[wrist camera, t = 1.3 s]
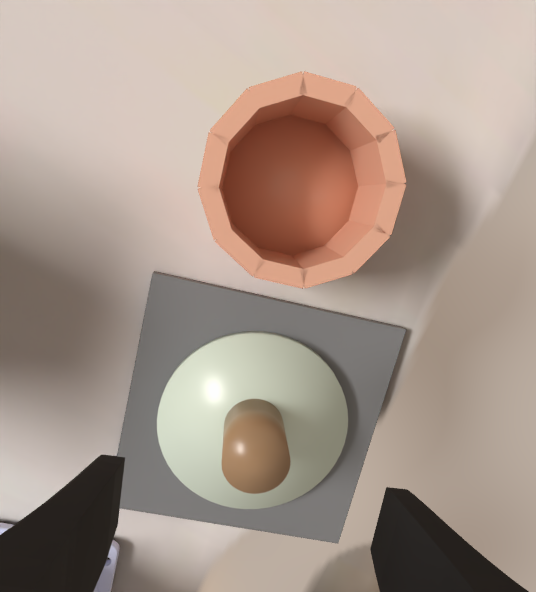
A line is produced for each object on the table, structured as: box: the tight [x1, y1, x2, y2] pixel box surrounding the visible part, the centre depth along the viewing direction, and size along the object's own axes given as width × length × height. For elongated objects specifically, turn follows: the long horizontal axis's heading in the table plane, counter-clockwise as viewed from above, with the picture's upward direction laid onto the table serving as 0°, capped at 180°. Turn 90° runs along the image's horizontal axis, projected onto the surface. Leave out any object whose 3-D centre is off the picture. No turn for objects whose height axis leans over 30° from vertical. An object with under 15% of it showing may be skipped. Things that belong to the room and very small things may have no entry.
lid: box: [157, 331, 348, 509], centre depth 20 cm, size 9×9×4 cm
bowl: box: [198, 71, 406, 289], centre depth 18 cm, size 7×7×4 cm
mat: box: [117, 271, 406, 543], centre depth 22 cm, size 12×12×1 cm
